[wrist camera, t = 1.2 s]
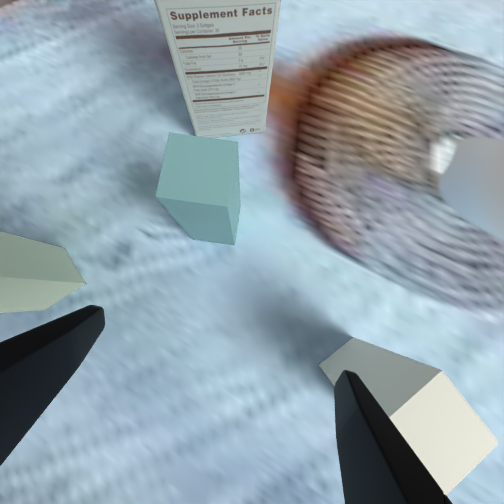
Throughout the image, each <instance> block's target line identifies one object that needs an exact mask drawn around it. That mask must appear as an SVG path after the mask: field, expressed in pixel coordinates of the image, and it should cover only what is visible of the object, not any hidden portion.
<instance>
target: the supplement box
mask: <svg viewBox="0 0 504 504" xmlns="http://www.w3.org/2000/svg"><path fill="white" fill-rule="evenodd" d="M154 1H155V4H156V7H157V11H158V14H159V17H160V21H161V24H162V27H163V30H164V34H165V37H166V40H167V43H168V47H169V50H170V54H171V57H172V60H173V64H174V67H175V70H176V74H177V77H178V80H179V84H180V87H181V90H182V93H183V97H184V100H185V103H186V106H187V109H188V113H189V116H190V119H191V122H192V125H193V128H194V131H195V135H196V136H199V137H206V138H213V137H224V136H234V135H245V134H254V133H262V132H264V131H265V124H266V115H267V106H268V99H269V91H270V83H271V75H272V67H273V60H274V52H275V44H276V36H277V28H278V20H279V12H280V2H281V0H154Z"/></svg>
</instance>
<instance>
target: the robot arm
mask: <svg viewBox="0 0 504 504" xmlns="http://www.w3.org/2000/svg"><path fill="white" fill-rule="evenodd" d="M104 326H105V317H104V309H103V308H102V307H99V306H96V305H89V306H86V307H84V308H82V309H79V310H77V311H74V312H72V313H70V314H67V315H65V316H62V317H60V318H58V319H55V320H53V321H50V322H48V323H46V324H43V325H41V326H38V327H36V328H34V329H31V330H29V331H26V332H24V333H22V334H19V335H17V336H14V337H12V338H10V339H7V340H5V341H2V342H0V466H1V465H2V463H3V462H4V461H5V460H6V458H7V457H8V456H9V454H10V453H11V452H12V451H13V449H14V448H15V447H16V446H17V444H18V443H19V442H20V441H21V439H22V438H23V437H24V436H25V434H26V433H27V432H28V431H29V429H30V428H31V427H32V426H33V424H34V423H35V422H36V421H37V419H38V418H39V417H40V415H41V414H42V413H43V412H44V410H45V409H46V408H47V407H48V405H49V404H50V403H51V402H52V400H53V399H54V398H55V397H56V395H57V394H58V393H59V392H60V390H61V389H62V388H63V387H64V385H65V384H66V383H67V382H68V380H69V379H70V378H71V376H72V375H73V374H74V373H75V371H76V370H77V369H78V367H79V366H80V364H81V363H82V361H83V360H84V358H85V357H86V355H87V354H88V352H89V351H90V349H91V348H92V346H93V344H94V343H95V341H96V340H97V338H98V337H99V335H100V334H101V332H102V331H103V329H104ZM334 397H335V424H336V439H337V448H338V455H339V462H340V470H341V477H342V484H343V492H344V499H345V504H452V502H451V501H450V500H449V498H448V497H447V496H446V495H445V494H444V492H443V490H442V489H441V488H440V486H439V485H438V483H437V482H436V481H435V479H434V478H433V477H432V475H431V474H430V473H429V471H428V470H427V468H426V467H425V466H424V464H423V463H422V462H421V460H420V459H419V458H418V456H417V455H416V453H415V452H414V451H413V449H412V448H411V447H410V445H409V444H408V443H407V441H406V440H405V438H404V437H403V436H402V434H401V433H400V432H399V430H398V429H397V428H396V426H395V425H394V424H393V422H392V421H391V419H390V418H389V417H388V415H387V414H386V413H385V411H384V410H383V409H382V407H381V406H380V404H379V403H378V402H377V400H376V399H375V398H374V396H373V395H372V394H371V392H370V391H369V389H368V388H367V387H366V385H365V384H364V383H363V381H362V380H361V379H360V377H359V376H358V375H357V374H356V373H355V372H353V371H349V370H343V371H342V373H341V375H340V376H339V378H338V380H337V381H336V383H335V387H334Z"/></svg>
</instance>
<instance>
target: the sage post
mask: <svg viewBox="0 0 504 504" xmlns="http://www.w3.org/2000/svg"><path fill="white" fill-rule="evenodd" d="M85 284H86V283H85V281H84V279H83V278H82V276H81V274H80V273H79V271H78V269H77V268H76V266H75V264H74V263H73V261H72V259H71V258H70V256H69V254H68V253H67V251H66V249H65V248H61V247H58V246H54V245H50V244H47V243H43V242H39V241H35V240H32V239H28V238H24V237H21V236H17V235H13V234H9V233H6V232H2V231H0V313H7V312H22V311H37V310H46V309H48V308H49V307H51V306H52V305H54V304H55V303H57V302H58V301H60V300H62V299H63V298H65V297H66V296H68V295H69V294H71V293H72V292H74V291H75V290H77V289H79V288H80V287H82V286H83V285H85Z"/></svg>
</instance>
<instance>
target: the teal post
mask: <svg viewBox="0 0 504 504" xmlns="http://www.w3.org/2000/svg"><path fill="white" fill-rule="evenodd" d="M155 197H156V198H157V200H158V201H159V202H160V203H161V204H162V205H163V206H164V207H165V209H166V210H167V211H168V212H169V213H170V214H171V215H172V216H173V217H174V219H175V220H176V221H177V222H178V223H179V224H180V225H181V226H182V228H183V229H184V230H185V231H186V232H187V233H188V234H189V235H190V237H191V238H192V239H193V240H200V241H208V242H215V243H222V244H230V245H235V240H236V233H237V226H238V219H239V213H240V182H239V157H238V142H235V141H228V140H221V139H213V138H206V137H199V136H192V135H184V134H177V133H170V132H169V136H168V141H167V145H166V150H165V154H164V159H163V163H162V168H161V172H160V177H159V182H158V186H157V191H156V195H155Z"/></svg>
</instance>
